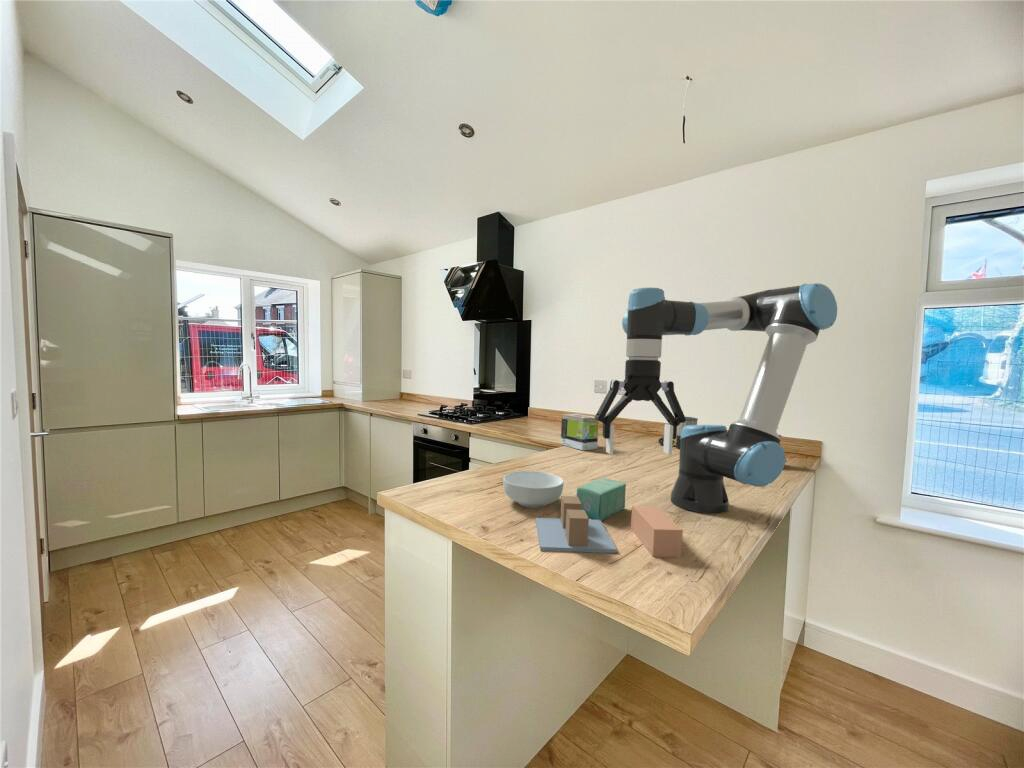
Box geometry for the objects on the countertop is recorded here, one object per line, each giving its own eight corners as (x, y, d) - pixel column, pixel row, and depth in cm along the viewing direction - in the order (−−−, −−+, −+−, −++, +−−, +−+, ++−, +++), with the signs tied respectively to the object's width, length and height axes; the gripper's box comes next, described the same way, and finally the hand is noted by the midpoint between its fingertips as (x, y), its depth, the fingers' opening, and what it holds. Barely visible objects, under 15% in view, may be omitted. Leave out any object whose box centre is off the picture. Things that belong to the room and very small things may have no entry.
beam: (655, 530, 101) (656, 506, 100) (681, 558, 87) (682, 529, 86) (630, 530, 100) (632, 505, 100) (652, 557, 86) (654, 529, 86)
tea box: (598, 449, 191) (599, 417, 190) (582, 451, 185) (583, 418, 184) (575, 442, 203) (576, 412, 203) (559, 444, 198) (561, 413, 197)
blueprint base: (599, 522, 103) (601, 496, 103) (616, 552, 88) (618, 521, 87) (535, 520, 103) (536, 493, 103) (540, 550, 87) (541, 518, 87)
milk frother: (699, 451, 195) (701, 419, 194) (665, 449, 195) (667, 418, 194) (687, 444, 209) (689, 415, 208) (655, 443, 209) (657, 414, 208)
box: (574, 514, 109) (576, 486, 109) (601, 502, 119) (603, 476, 119) (599, 522, 104) (600, 493, 104) (625, 509, 114) (626, 482, 114)
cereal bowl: (547, 519, 105) (548, 491, 104) (491, 505, 113) (491, 480, 113) (571, 500, 120) (572, 476, 119) (520, 489, 128) (521, 467, 127)
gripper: (687, 360, 98) (683, 449, 99) (583, 357, 96) (580, 448, 97) (705, 360, 90) (700, 457, 92) (593, 357, 88) (589, 456, 89)
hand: (638, 453), depth 94 cm, fingers open, 13 cm apart
